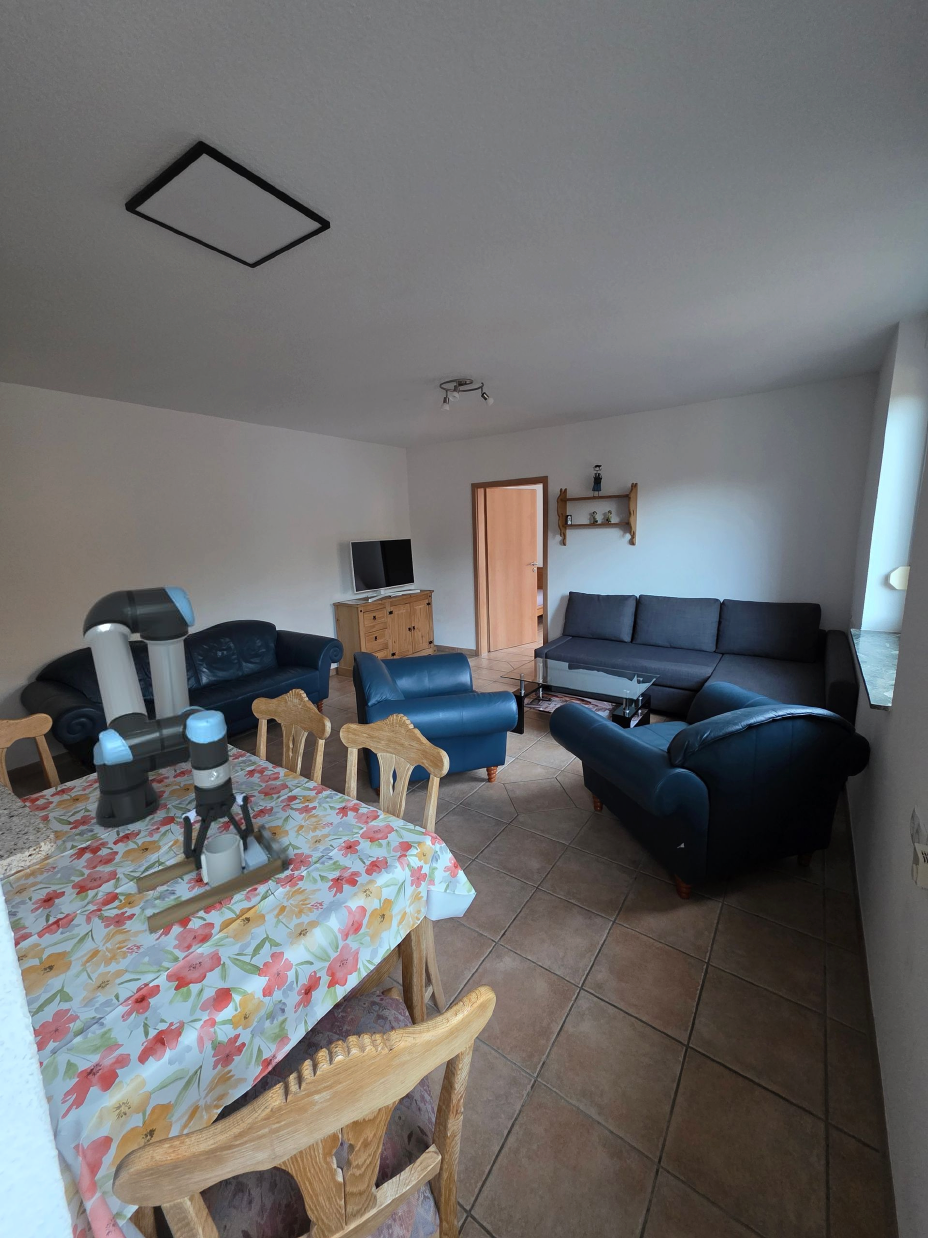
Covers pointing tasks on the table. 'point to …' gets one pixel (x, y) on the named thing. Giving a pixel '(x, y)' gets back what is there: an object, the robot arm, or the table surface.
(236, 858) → the cup
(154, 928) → the channel
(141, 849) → the table surface
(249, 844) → the block
